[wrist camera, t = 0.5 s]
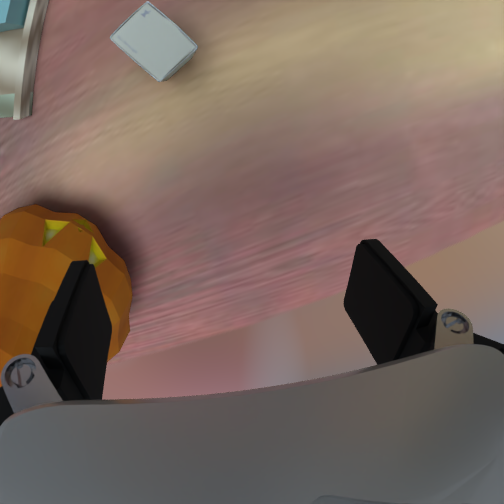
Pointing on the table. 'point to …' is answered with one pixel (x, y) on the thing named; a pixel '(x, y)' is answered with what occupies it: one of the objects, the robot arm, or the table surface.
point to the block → (13, 14)
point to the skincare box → (154, 42)
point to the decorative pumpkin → (52, 274)
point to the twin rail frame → (20, 63)
